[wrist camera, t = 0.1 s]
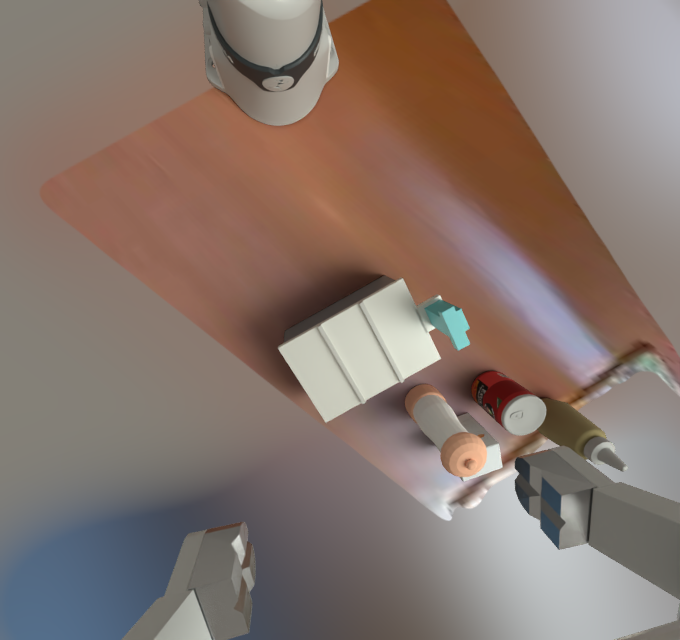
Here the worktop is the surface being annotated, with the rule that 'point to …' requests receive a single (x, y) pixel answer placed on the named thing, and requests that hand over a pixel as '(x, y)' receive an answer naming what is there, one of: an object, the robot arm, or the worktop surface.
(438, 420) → the pepper shaker
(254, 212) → the worktop surface
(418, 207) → the worktop surface
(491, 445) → the small box
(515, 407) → the canned food
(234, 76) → the robot arm
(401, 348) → the lid
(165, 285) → the worktop surface
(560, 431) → the squeeze bottle
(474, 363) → the worktop surface
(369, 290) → the tub
